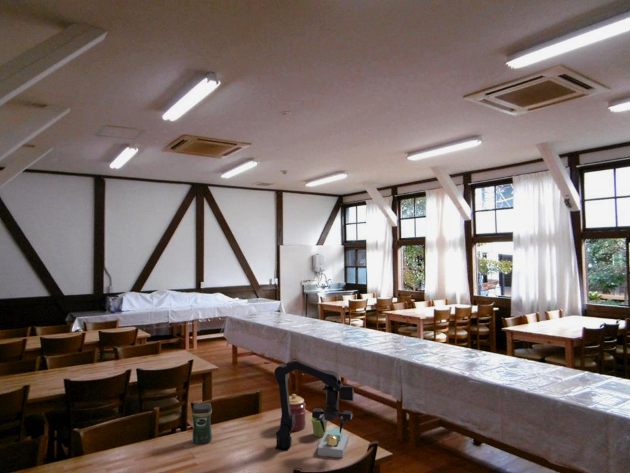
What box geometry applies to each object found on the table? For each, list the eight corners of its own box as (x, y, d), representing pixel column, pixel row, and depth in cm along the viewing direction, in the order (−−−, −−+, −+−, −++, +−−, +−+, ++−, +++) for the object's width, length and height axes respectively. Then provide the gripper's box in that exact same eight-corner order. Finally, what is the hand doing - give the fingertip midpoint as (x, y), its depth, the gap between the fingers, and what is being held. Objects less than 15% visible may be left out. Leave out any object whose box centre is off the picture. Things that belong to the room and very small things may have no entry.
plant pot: (313, 439, 219) (313, 422, 219) (308, 432, 228) (308, 415, 228) (330, 437, 222) (330, 420, 222) (325, 430, 231) (325, 413, 231)
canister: (279, 423, 240) (279, 391, 240) (301, 420, 243) (302, 389, 244) (284, 433, 227) (285, 399, 228) (308, 430, 231) (308, 396, 232)
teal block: (327, 439, 211) (327, 434, 211) (330, 433, 218) (330, 428, 218) (340, 440, 209) (340, 435, 209) (342, 434, 216) (342, 429, 216)
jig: (317, 454, 203) (317, 447, 203) (325, 439, 219) (325, 432, 219) (342, 457, 200) (342, 450, 200) (348, 442, 216) (348, 434, 216)
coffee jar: (212, 437, 222) (212, 400, 223) (211, 443, 214) (211, 406, 215) (193, 438, 220) (193, 401, 221) (190, 445, 213) (191, 407, 213)
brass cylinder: (326, 453, 204) (326, 438, 205) (328, 449, 209) (328, 434, 209) (335, 454, 203) (335, 439, 204) (337, 450, 208) (337, 435, 208)
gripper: (309, 403, 201) (309, 437, 201) (349, 406, 197) (349, 441, 196) (314, 395, 212) (314, 428, 212) (352, 398, 208) (352, 431, 207)
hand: (332, 432), depth 206 cm, fingers open, 7 cm apart
